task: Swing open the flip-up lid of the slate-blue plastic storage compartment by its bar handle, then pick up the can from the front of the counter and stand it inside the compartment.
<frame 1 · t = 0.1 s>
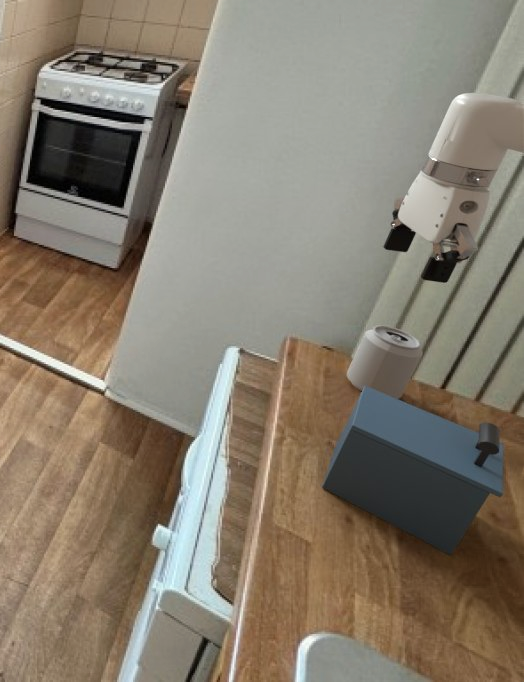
hand: (413, 264, 100), 27 cm above the countertop, tool pointing down, fingers open, 9 cm apart
compartment: (387, 495, 90), on the countertop
can: (371, 388, 111), on the countertop
lid: (431, 424, 84), point 14 cm above the countertop, hinge at 0.0°
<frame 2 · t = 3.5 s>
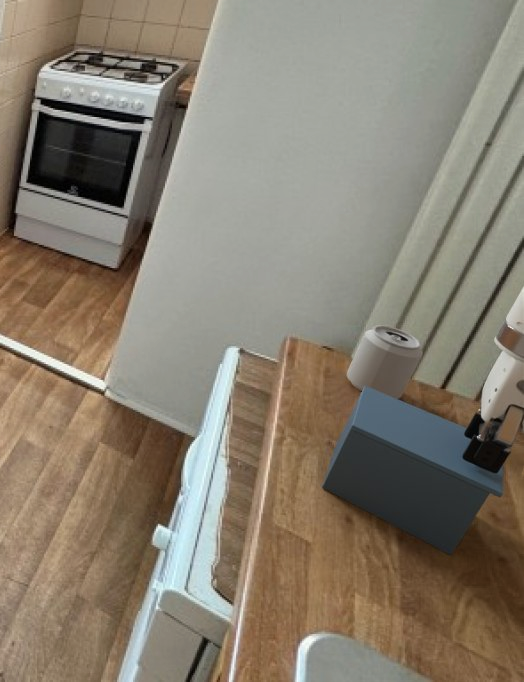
hand: (480, 452, 81), 13 cm above the countertop, tool pointing down, fingers closed on lid, 5 cm apart
lid: (431, 424, 84), point 14 cm above the countertop, hinge at 0.0°, touching gripper
everything else where it was.
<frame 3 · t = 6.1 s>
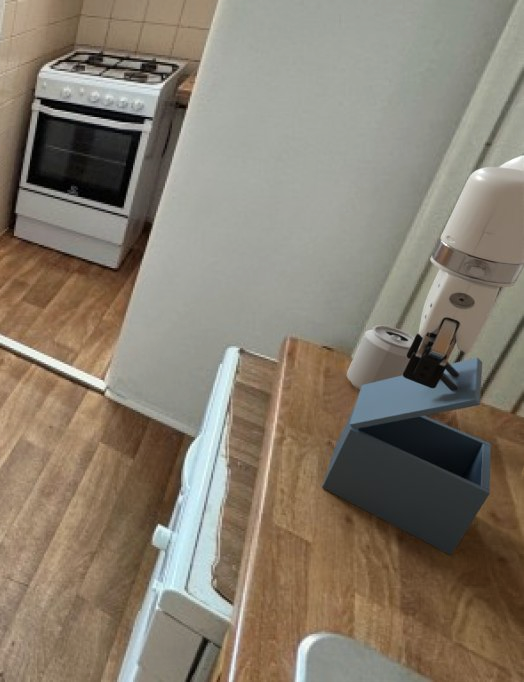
hand: (420, 370, 84), 22 cm above the countertop, tool pointing down, fingers closed on lid, 5 cm apart
lid: (402, 380, 86), point 19 cm above the countertop, hinge at 51.8°, touching gripper
everything else where it was.
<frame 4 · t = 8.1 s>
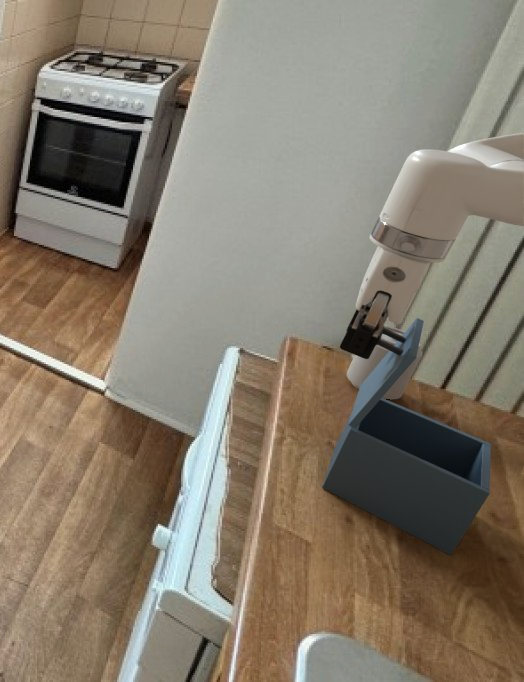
hand: (357, 343, 89), 22 cm above the countertop, tool pointing down, fingers open, 5 cm apart
lid: (367, 363, 88), point 20 cm above the countertop, hinge at 81.2°
everything else where it was.
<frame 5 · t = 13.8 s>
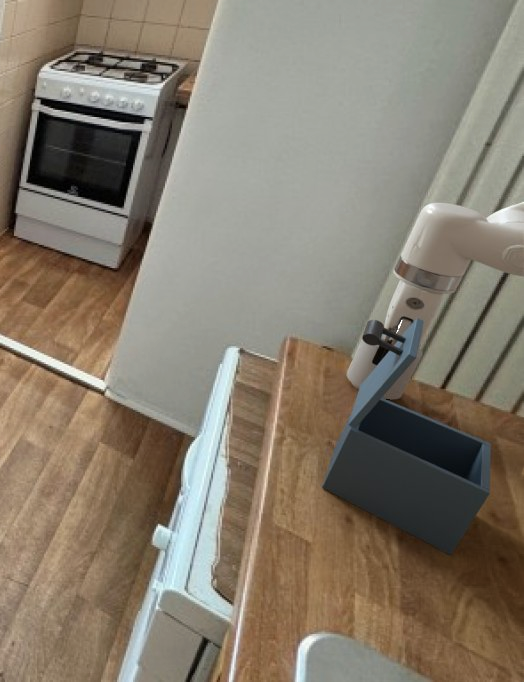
hand: (386, 356, 108), 7 cm above the countertop, tool pointing down, fingers closed on can, 7 cm apart
can: (371, 388, 111), on the countertop, touching gripper
everything else where it was.
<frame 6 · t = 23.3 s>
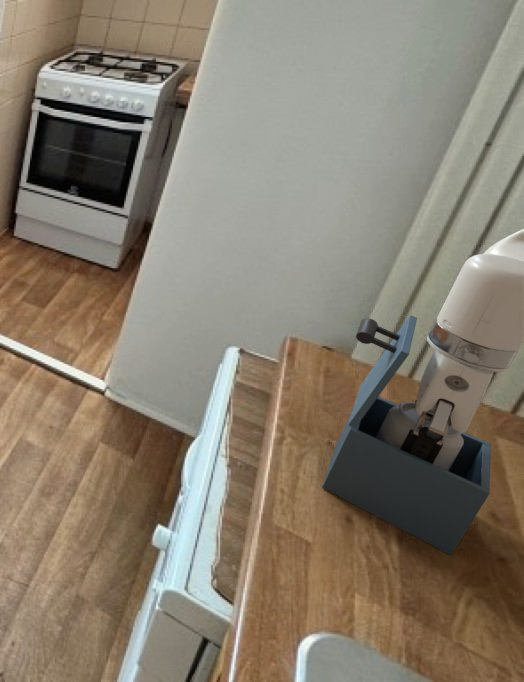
hand: (417, 442, 86), 11 cm above the countertop, tool pointing down, fingers closed on can, 7 cm apart
can: (396, 479, 89), point 3 cm above the countertop, touching gripper
lid: (364, 362, 88), point 20 cm above the countertop, hinge at 84.1°
when the fingers open (12 cm above the countertop, at t = 33.5 s): can drops 3 cm, resting on compartment.
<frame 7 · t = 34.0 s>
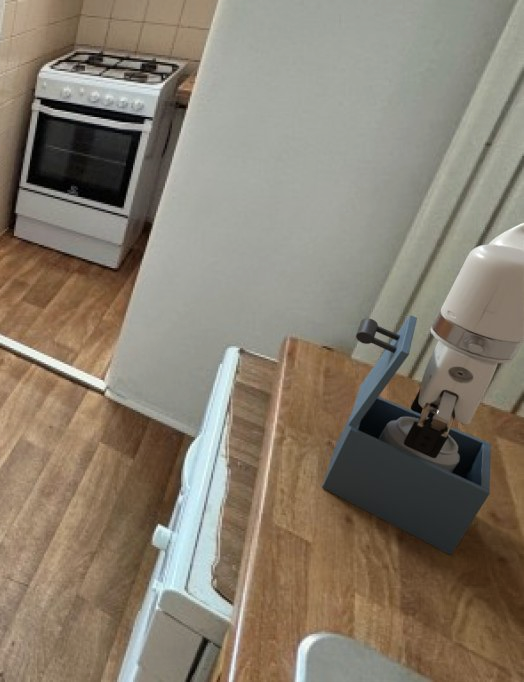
hand: (422, 432, 85), 13 cm above the countertop, tool pointing down, fingers open, 9 cm apart
can: (390, 490, 90), point 1 cm above the countertop, touching compartment
everything else where it was.
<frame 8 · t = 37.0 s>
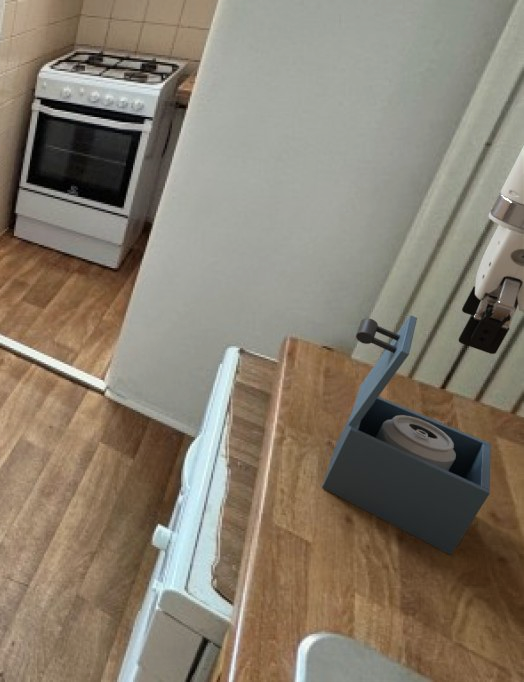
hand: (477, 331, 79), 30 cm above the countertop, tool pointing down, fingers open, 9 cm apart
nothing on the countertop moved.
at the end: lid at +84° (first picture: +0°); can inside the target area in the compartment (0.1 cm from its centre), point 0.6 cm above the compartment's base; can tilted 0° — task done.
